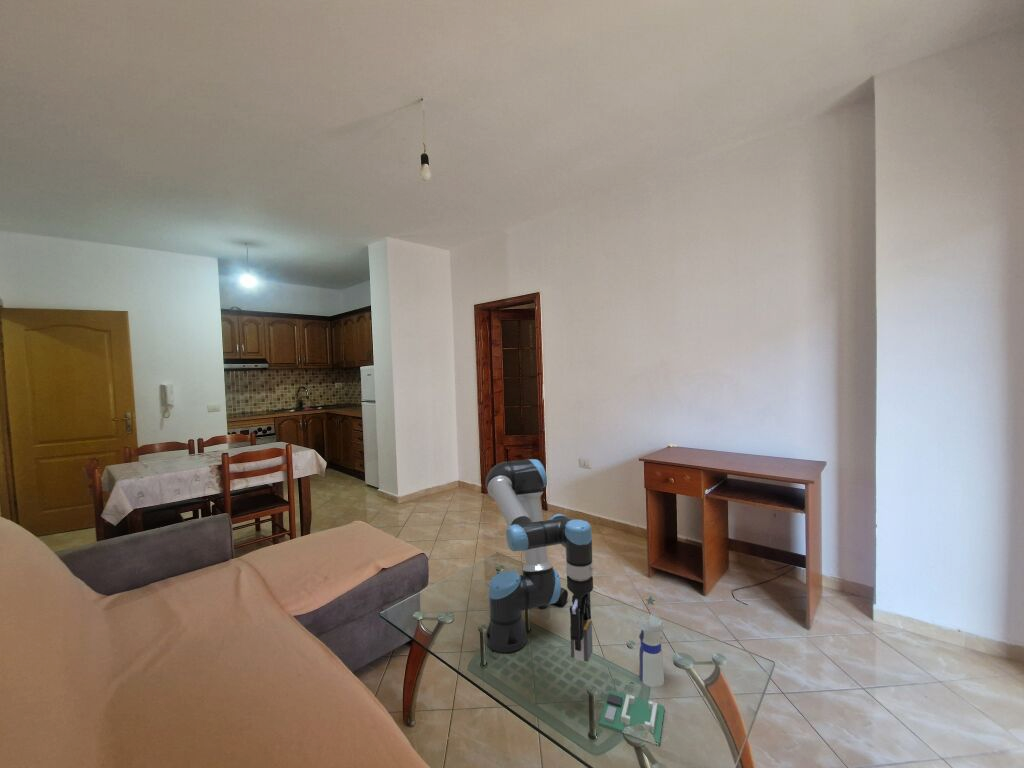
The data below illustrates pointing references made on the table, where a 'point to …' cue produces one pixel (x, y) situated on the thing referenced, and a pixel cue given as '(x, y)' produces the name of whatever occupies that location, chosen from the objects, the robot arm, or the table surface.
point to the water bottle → (651, 650)
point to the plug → (585, 640)
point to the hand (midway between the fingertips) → (582, 652)
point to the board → (631, 714)
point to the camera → (560, 598)
